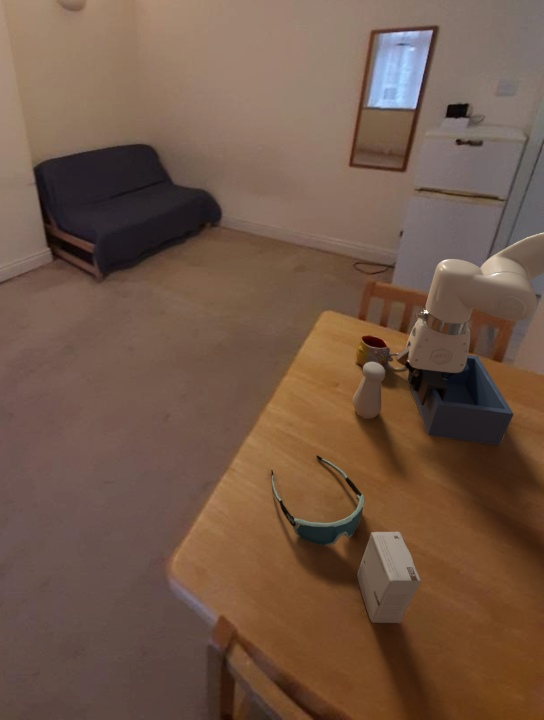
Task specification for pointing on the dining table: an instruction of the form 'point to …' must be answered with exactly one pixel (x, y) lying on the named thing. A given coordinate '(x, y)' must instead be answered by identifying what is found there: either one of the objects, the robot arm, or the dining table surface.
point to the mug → (376, 353)
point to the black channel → (430, 384)
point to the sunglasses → (325, 531)
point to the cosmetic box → (387, 577)
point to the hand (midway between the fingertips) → (424, 386)
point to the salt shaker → (369, 391)
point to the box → (467, 407)
